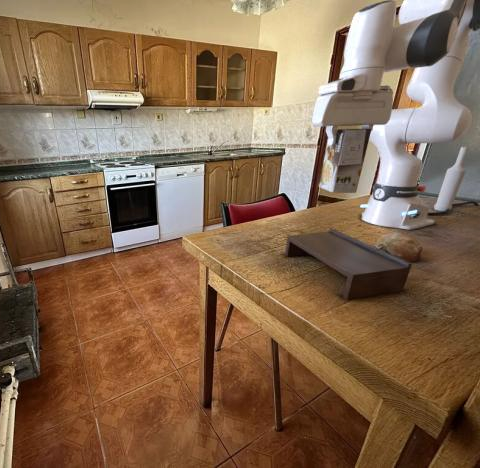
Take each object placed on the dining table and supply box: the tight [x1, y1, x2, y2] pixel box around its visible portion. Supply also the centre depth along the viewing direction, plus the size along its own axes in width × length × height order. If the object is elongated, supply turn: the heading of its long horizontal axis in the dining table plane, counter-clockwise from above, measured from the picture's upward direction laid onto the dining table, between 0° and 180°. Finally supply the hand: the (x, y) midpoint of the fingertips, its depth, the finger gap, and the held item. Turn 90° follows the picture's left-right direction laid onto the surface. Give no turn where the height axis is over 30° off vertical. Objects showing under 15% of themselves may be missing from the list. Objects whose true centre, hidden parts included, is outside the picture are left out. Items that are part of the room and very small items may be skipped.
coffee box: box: [318, 128, 372, 194], centre depth 70 cm, size 9×6×16 cm
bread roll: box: [374, 232, 423, 263], centre depth 71 cm, size 10×10×8 cm
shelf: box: [284, 228, 413, 300], centre depth 64 cm, size 14×22×7 cm, turn 10°
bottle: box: [433, 146, 470, 212], centre depth 103 cm, size 5×5×25 cm
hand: (346, 144), depth 68 cm, fingers closed on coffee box, 7 cm apart
